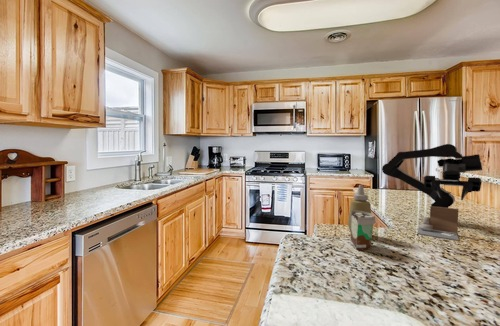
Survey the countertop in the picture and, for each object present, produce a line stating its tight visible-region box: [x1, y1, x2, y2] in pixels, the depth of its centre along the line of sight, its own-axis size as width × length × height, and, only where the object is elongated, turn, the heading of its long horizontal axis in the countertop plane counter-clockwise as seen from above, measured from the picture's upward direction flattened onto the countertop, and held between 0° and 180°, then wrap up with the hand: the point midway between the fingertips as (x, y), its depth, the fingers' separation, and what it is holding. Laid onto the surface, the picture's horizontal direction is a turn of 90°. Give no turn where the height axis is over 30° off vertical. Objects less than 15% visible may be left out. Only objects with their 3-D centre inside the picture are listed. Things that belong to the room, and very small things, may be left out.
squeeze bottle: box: [347, 184, 372, 234], centre depth 94 cm, size 8×8×18 cm
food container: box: [350, 210, 376, 251], centre depth 82 cm, size 12×6×10 cm, turn 168°
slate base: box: [417, 225, 460, 242], centre depth 99 cm, size 14×12×1 cm
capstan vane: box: [419, 205, 459, 234], centre depth 99 cm, size 4×12×9 cm, turn 57°
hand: (451, 198), depth 104 cm, fingers open, 6 cm apart
